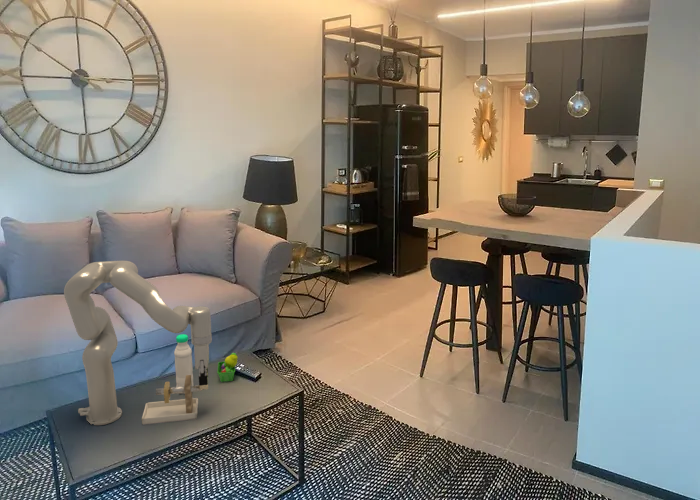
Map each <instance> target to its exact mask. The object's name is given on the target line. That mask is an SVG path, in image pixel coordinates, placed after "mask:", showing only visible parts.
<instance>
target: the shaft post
mask: <svg viewBox="0 0 700 500" xmlns="http://www.w3.org/2000/svg"><path fill="white" fill-rule="evenodd" d="M191 386H192V382H191V375H186V378H185V384H184V387H185V393H184V399H185V403H186V414H188V413H192V409H193V398H194V397H193V392H191Z"/></svg>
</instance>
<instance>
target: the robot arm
mask: <svg viewBox="0 0 700 500" xmlns="http://www.w3.org/2000/svg"><path fill="white" fill-rule="evenodd" d="M107 283H110V284H111V286H112V287H114V289H116V290H118V291H120V292H121V293H123V294H124V295H125V296H127V297H128V298H130V299H131V300H133V301H134V302H136V303H137V304H139V306H141V308H142V309H143V310H144V312H145V313H146V314H147V315H148V316H149V317H150V318H151V319H152V320H153V322H155V323H156V324H158V325H159V326H160V327H161V328H163V329H164V330H167V331H168V332H170V333H173V334H182V333H184V332H185V330H187V328H188V325H190V341H191V345H193V347H194V348H193V350H194V351H193V352H194V370H195V371H197V370H198V385H200V386H201V385H208V386H209V378H208V379H207V373H206V369H207V372H208V373H209V362H210V361H209V360H210V347H209V346H210V344H211V343H212V342H213V341H212V320H211V319H212V318H211V309H210V308H209V307H208V306H203V305H200V306H189V305H177V306H175V307H174V308H171V307H170V306H168V305H167V304H166V303H165V302H164V300H163V299H162V297H161V295H160V293H159V289H158V288H157V287H156V286H155V285H154V284H152V283H151V282H149V281H148V280H147V279H146V278H144V277H143V276H141V275H139V268H138V267H137V265H136V263H134V262H132V261H129V260H109V261H95V262H94V261H93V262H90V263H88V264H86V265H85V266H83V267H82V269H80V270H78V271H77V272H76V273H75V274H74V275H72V276H71V277H70V278H69V280H68V281H67V282H66V284H65V285H64V289H63V296H64V299H65V302H66V305H67V307H68V310H69V313H70V316H71V319H72V322H73V323H72V324H73V325H74V329H75V331H76V333H77V335H78V336H79V338H81V339H82V340H84V341H89V342H88V344H87V345H86V346H85V347H84V350H83V352H82V364H83V366H84V367H83V368H84V370H85V377H86V379H85V380H86V386H87V392H88V393H87V394H88V396H87V397H88V404H89V406H87V407H85V408H84V407H81V408H80V407H79V408H77V411H78V414H79V415H80V417H83V416H85V417H86V418H85V419H86V422H87V421H88V422H89V423H90V425H92V424H94V425H93V426H104V425H110V424H111V423H114V422H116V421H117V420H119V419H120V418H121V417H122V416H123V410H122V408H120V407H118V402H117V391H116V382H115V371H114V368H113V364H112V356H113V355H114V353H115V352H116V350H117V348H118V344H119V343H118V337H117V334H116V331H115V328H114V325H113V321H112V319H111V317H110V315H109V313H108V312H107V310H105V309H104V308H103V307H101V306H96V305H95V300H94V299H93V297H92V296H91V293H92V292H94V291H95V290H96V289H97V288H98V287H99V286H100V285H101V284H107ZM204 367H205V368H204ZM204 370H205V371H204ZM88 422H87V423H88ZM89 423H88V424H89Z"/></svg>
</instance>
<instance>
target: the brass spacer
mask: <svg viewBox="0 0 700 500" xmlns="http://www.w3.org/2000/svg"><path fill="white" fill-rule="evenodd" d="M170 387H171V384H170V381H165V383H164V385H163V388H164V394H163V401H164V402H165V403H169V401H171V394H169V388H170Z"/></svg>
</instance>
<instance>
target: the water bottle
mask: <svg viewBox="0 0 700 500" xmlns="http://www.w3.org/2000/svg"><path fill="white" fill-rule="evenodd" d="M175 341H176V343H177V345H176V346H175V349H174V352H173V353H174V367H175V382H176V386H175V387H182V386H184V384H185V378H186V375H191V382H192V386H193V385H194V374H193V372H194V371H193V357H192V353H193V351H192V348H191V346H190V345H189V343H188V342H189V336H188V334H186V333H185V334H184V333H183V334H182V333H180V334H177V335H176V338H175ZM182 394H184V395H185V393H182Z"/></svg>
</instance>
